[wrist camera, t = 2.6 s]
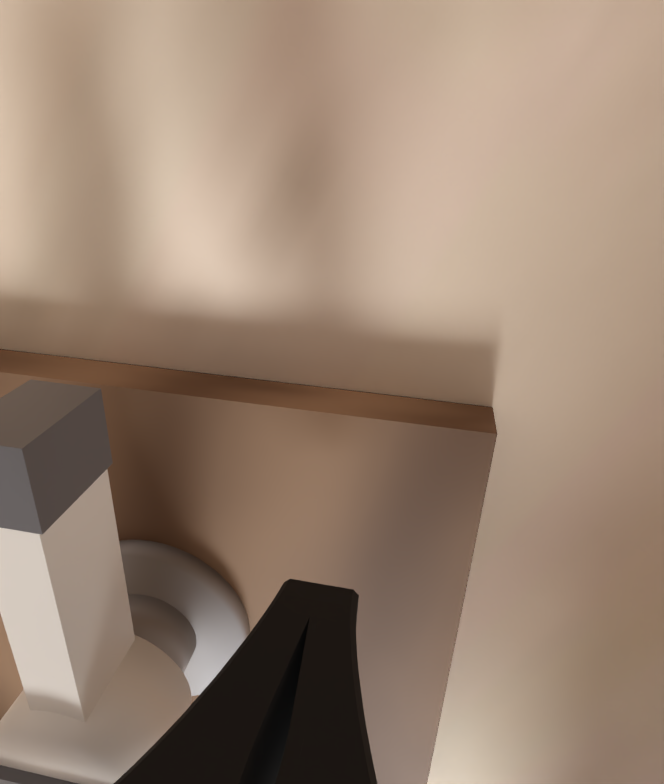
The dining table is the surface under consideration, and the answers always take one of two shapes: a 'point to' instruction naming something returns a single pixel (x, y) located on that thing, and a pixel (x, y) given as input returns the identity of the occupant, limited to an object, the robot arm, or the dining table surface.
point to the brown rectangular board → (289, 524)
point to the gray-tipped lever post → (71, 601)
